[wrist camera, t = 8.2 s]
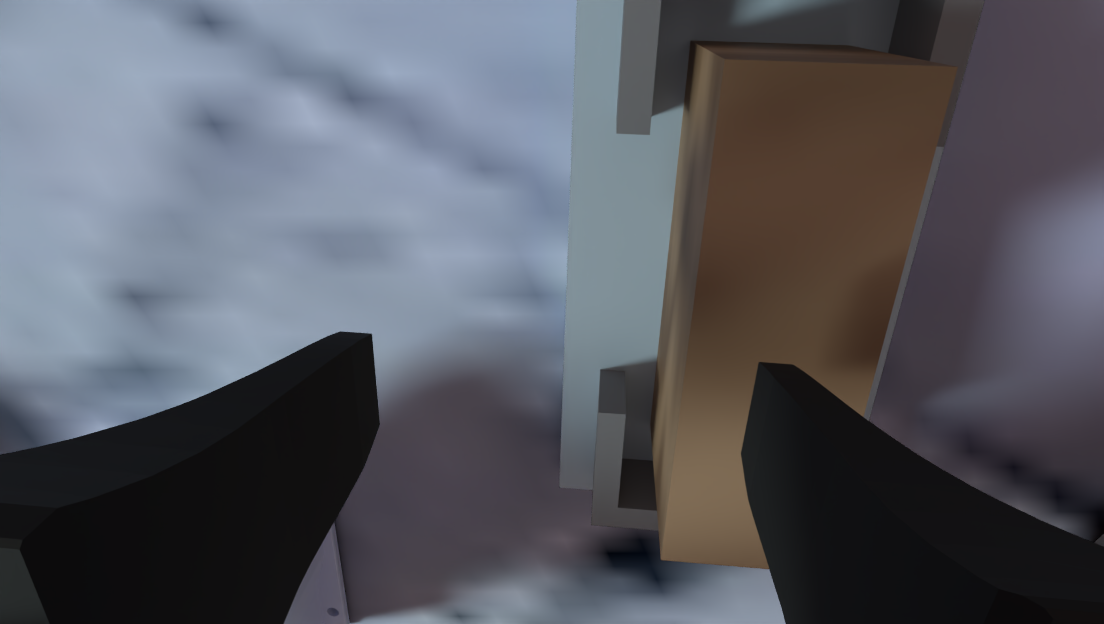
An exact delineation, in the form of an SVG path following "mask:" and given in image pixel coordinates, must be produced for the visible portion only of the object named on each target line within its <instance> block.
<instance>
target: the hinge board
mask: <svg viewBox="0 0 1104 624" xmlns="http://www.w3.org/2000/svg"><path fill="white" fill-rule="evenodd" d="M984 1H985V0H577V10H576V37H575V65H574V92H573V120H572V148H571V175H570V203H569V230H568V258H567V286H566V313H565V341H564V368H563V396H562V424H561V451H560V479H559V488H570V489H583V490H593V496H592V517H591V525H595V526H607V527H620V528H632V529H644V530H657V531H659V530H658V517H657V505H656V492H655V480H654V467H653V455H652V442H651V429H650V420H651V411H652V401H653V392H654V382H655V373H656V363H657V354H658V344H659V335H660V325H661V316H662V307H663V297H664V288H665V278H666V269H667V259H668V250H669V240H670V231H671V221H672V212H673V202H674V193H675V183H676V174H677V164H678V155H679V145H680V136H681V126H682V117H683V107H684V98H685V88H686V79H687V69H688V60H689V50H690V41H691V40H692V41H725V42H758V43H790V44H823V45H850V46H855V47H860V48H865V49H870V50H875V51H880V52H885V53H890V54H895V55H901V56H906V57H911V58H916V59H921V60H926V61H931V62H936V63H941V64H946V65H951V66H956V67H958V69H957V72H956V76H955V80H954V84H953V87H952V91H951V95H950V98H949V102H948V106H947V109H946V113H945V117H944V121H943V124H942V128H941V132H940V135H939V139H938V143H937V146H936V150H935V154H934V158H933V161H932V165H931V169H930V172H929V176H928V180H927V183H926V187H925V191H924V195H923V198H922V202H921V206H920V209H919V213H918V217H917V220H916V224H915V228H914V232H913V235H912V239H911V243H910V246H909V250H908V254H907V257H906V261H905V265H904V269H903V272H902V276H901V280H900V283H899V287H898V291H897V294H896V298H895V302H894V306H893V309H892V313H891V317H890V320H889V324H888V328H887V331H886V335H885V339H884V343H883V346H882V350H881V354H880V357H879V361H878V365H877V368H876V372H875V376H874V380H873V383H872V387H871V391H870V394H869V398H868V402H867V405H866V409H865V413H864V418H865V419H867V420H868V421H869V418H870V415H871V411H872V408H873V404H874V400H875V397H876V393H877V389H878V386H879V382H880V378H881V375H882V371H883V368H884V364H885V360H886V357H887V353H888V349H889V346H890V342H891V339H892V335H893V331H894V328H895V324H896V320H897V317H898V313H899V309H900V306H901V302H902V299H903V295H904V291H905V288H906V284H907V280H908V277H909V273H910V270H911V266H912V262H913V259H914V255H915V251H916V248H917V244H918V240H919V237H920V233H921V230H922V226H923V222H924V219H925V215H926V211H927V208H928V204H929V200H930V197H931V193H932V190H933V186H934V182H935V179H936V175H937V171H938V168H939V164H940V161H941V157H942V153H943V150H944V146H945V142H946V139H947V135H948V131H949V128H950V124H951V121H952V117H953V113H954V110H955V106H956V102H957V99H958V95H959V92H960V88H961V84H962V81H963V77H964V73H965V70H966V66H967V62H968V59H969V55H970V52H971V48H972V44H973V41H974V37H975V33H976V30H977V26H978V22H979V19H980V15H981V12H982V8H983V4H984Z"/></svg>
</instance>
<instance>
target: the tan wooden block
mask: <svg viewBox="0 0 1104 624" xmlns="http://www.w3.org/2000/svg"><path fill="white" fill-rule="evenodd" d="M957 69H958V67H956V66H951V65H946V64H941V63H936V62H931V61H926V60H921V59H916V58H911V57H906V56H901V55H895V54H890V53H885V52H880V51H875V50H870V49H865V48H860V47H855V46H850V45H823V44H790V43H758V42H725V41H692V40H691V41H690V50H689V60H688V69H687V79H686V88H685V98H684V107H683V117H682V126H681V136H680V145H679V155H678V164H677V174H676V183H675V193H674V202H673V212H672V221H671V231H670V240H669V250H668V259H667V269H666V278H665V288H664V297H663V307H662V316H661V325H660V335H659V344H658V354H657V363H656V373H655V382H654V392H653V401H652V411H651V420H650V429H651V442H652V455H653V467H654V480H655V492H656V505H657V517H658V530H659V542H660V555H661V560H667V561H679V562H691V563H702V564H714V565H726V566H738V567H750V568H762V569H769V566H768V563H767V560H766V557H765V554H764V550H763V547H762V544H761V541H760V538H759V534H758V531H757V528H756V525H755V521H754V518H753V515H752V512H751V508H750V505H749V501H748V496H747V490H746V485H745V479H744V472H743V465H742V458H741V450H742V445H743V440H744V435H745V430H746V425H747V419H748V414H749V409H750V404H751V399H752V394H753V389H754V384H755V379H756V373H757V368H758V363H759V362H768V363H781V364H793V365H795V366H796V367H798V368H800V369H801V370H803V371H804V372H805V373H807V374H808V375H809V376H811V377H812V378H813V379H815V380H816V381H817V382H819V383H820V384H821V385H822V386H824V387H825V388H826V389H828V390H829V391H830V392H831V393H833V394H834V395H835V396H837V397H838V398H839V399H840V400H842V401H843V402H844V403H846V404H847V405H848V406H850V407H851V408H852V409H853V410H855V411H856V412H857V413H859V414H860V415H861V416H863V417H864V413H865V409H866V405H867V402H868V398H869V394H870V391H871V387H872V383H873V380H874V376H875V372H876V368H877V365H878V361H879V357H880V354H881V350H882V346H883V343H884V339H885V335H886V331H887V328H888V324H889V320H890V317H891V313H892V309H893V306H894V302H895V298H896V294H897V291H898V287H899V283H900V280H901V276H902V272H903V269H904V265H905V261H906V257H907V254H908V250H909V246H910V243H911V239H912V235H913V232H914V228H915V224H916V220H917V217H918V213H919V209H920V206H921V202H922V198H923V195H924V191H925V187H926V183H927V180H928V176H929V172H930V169H931V165H932V161H933V158H934V154H935V150H936V146H937V143H938V139H939V135H940V132H941V128H942V124H943V121H944V117H945V113H946V109H947V106H948V102H949V98H950V95H951V91H952V87H953V84H954V80H955V76H956V72H957Z"/></svg>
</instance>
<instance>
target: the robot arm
mask: <svg viewBox="0 0 1104 624" xmlns="http://www.w3.org/2000/svg"><path fill="white" fill-rule="evenodd" d="M379 425H380V422H379V411H378V399H377V388H376V376H375V365H374V353H373V342H372V334H367V333H354V332H338V333H335V334H332V335H330V336H327V337H325V338H323V339H321V340H319V341H317V342H315V343H312V344H310V345H308V346H306V347H304V348H302V349H300V350H298V351H297V352H295V353H293V354H291V355H289V356H287V357H285V358H283V359H281V360H279V361H277V362H275V363H273V364H271V365H269V366H267V367H265V368H263V369H261V370H259V371H257V372H255V373H252V374H250V375H248V376H246V377H244V378H241V379H239V380H237V381H235V382H233V383H230V384H228V385H226V386H224V387H222V388H220V389H217V390H215V391H213V392H211V393H209V394H206V395H204V396H201V397H199V398H197V399H194V400H191V401H189V402H186V403H184V404H181V405H179V406H176V407H173V408H170V409H168V410H165V411H162V412H159V413H156V414H154V415H151V416H148V417H145V418H142V419H139V420H136V421H132V422H129V423H125V424H122V425H119V426H115V427H112V428H108V429H105V430H101V431H98V432H94V433H91V434H88V435H84V436H81V437H77V438H73V439H69V440H65V441H61V442H57V443H52V444H48V445H44V446H40V447H35V448H31V449H26V450H21V451H16V452H12V453H7V454H2V455H0V624H350V621H349V615H348V608H347V602H346V595H345V589H344V582H343V576H342V569H341V562H340V556H339V549H338V543H337V536H336V530H335V523H334V521H335V519H336V518H337V516H338V514H339V512H340V510H341V509H342V507H343V505H344V503H345V501H346V500H347V498H348V496H349V494H350V492H351V490H352V489H353V487H354V485H355V483H356V481H357V479H358V478H359V476H360V474H361V472H362V470H363V468H364V466H365V463H366V461H367V458H368V455H369V453H370V450H371V448H372V445H373V442H374V439H375V436H376V434H377V431H378V428H379ZM741 458H742V465H743V472H744V479H745V485H746V490H747V496H748V501H749V505H750V508H751V512H752V515H753V518H754V521H755V525H756V528H757V531H758V534H759V538H760V541H761V544H762V547H763V550H764V554H765V557H766V560H767V563H768V566H769V569H770V573H771V576H772V579H773V582H774V585H775V588H776V592H777V595H778V598H779V601H780V604H781V607H782V611H783V615H784V619H785V622H786V624H1104V547H1103V546H1101V545H1098V544H1096V543H1093V542H1091V541H1088V540H1086V539H1083V538H1081V537H1078V536H1076V535H1073V534H1071V533H1069V532H1066V531H1064V530H1062V529H1059V528H1057V527H1055V526H1053V525H1050V524H1048V523H1046V522H1043V521H1041V520H1039V519H1037V518H1035V517H1033V516H1031V515H1028V514H1026V513H1024V512H1022V511H1020V510H1018V509H1016V508H1014V507H1012V506H1010V505H1007V504H1005V503H1003V502H1001V501H999V500H997V499H995V498H993V497H991V496H989V495H987V494H985V493H983V492H982V491H980V490H978V489H976V488H974V487H972V486H970V485H968V484H967V483H965V482H963V481H961V480H960V479H958V478H956V477H954V476H953V475H951V474H949V473H947V472H946V471H944V470H942V469H940V468H939V467H937V466H935V465H934V464H932V463H930V462H929V461H927V460H925V459H924V458H922V457H921V456H919V455H917V454H916V453H914V452H913V451H911V450H910V449H908V448H907V447H905V446H904V445H902V444H901V443H900V442H898V441H897V440H895V439H894V438H892V437H891V436H889V435H888V434H886V433H885V432H883V431H882V430H881V429H879V428H878V427H876V426H875V425H874V424H872V423H871V422H870V421H868V420H867V419H865V418H864V417H863V416H861V415H860V414H859V413H857V412H856V411H855V410H853V409H852V408H851V407H850V406H848V405H847V404H846V403H844V402H843V401H842V400H840V399H839V398H838V397H837V396H835V395H834V394H833V393H831V392H830V391H829V390H828V389H826V388H825V387H824V386H822V385H821V384H820V383H819V382H817V381H816V380H815V379H813V378H812V377H811V376H809V375H808V374H807V373H805V372H804V371H803V370H801V369H800V368H798V367H796V366H795V365H793V364H781V363H768V362H759V363H758V368H757V373H756V379H755V384H754V389H753V394H752V399H751V404H750V409H749V414H748V419H747V425H746V430H745V435H744V440H743V445H742V450H741Z"/></svg>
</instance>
